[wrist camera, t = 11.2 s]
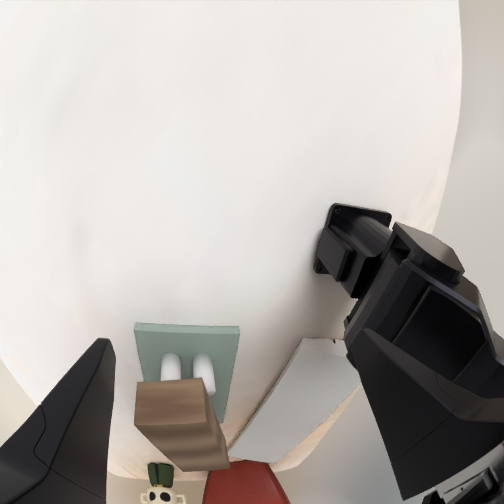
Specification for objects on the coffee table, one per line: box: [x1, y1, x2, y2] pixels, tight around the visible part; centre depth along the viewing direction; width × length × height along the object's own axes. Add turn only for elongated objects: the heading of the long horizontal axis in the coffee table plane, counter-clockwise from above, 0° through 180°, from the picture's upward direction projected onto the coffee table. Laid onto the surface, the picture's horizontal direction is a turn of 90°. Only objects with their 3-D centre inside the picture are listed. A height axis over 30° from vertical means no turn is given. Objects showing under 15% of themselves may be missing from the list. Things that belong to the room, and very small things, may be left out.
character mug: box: [140, 464, 187, 504], centre depth 40 cm, size 11×7×13 cm, turn 92°
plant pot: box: [202, 460, 290, 504], centre depth 44 cm, size 19×19×17 cm
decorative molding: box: [227, 338, 361, 464], centre depth 37 cm, size 34×5×10 cm
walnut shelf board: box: [134, 377, 230, 472], centre depth 23 cm, size 16×6×4 cm, turn 3°
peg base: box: [134, 323, 240, 423], centre depth 27 cm, size 10×20×5 cm, turn 171°
